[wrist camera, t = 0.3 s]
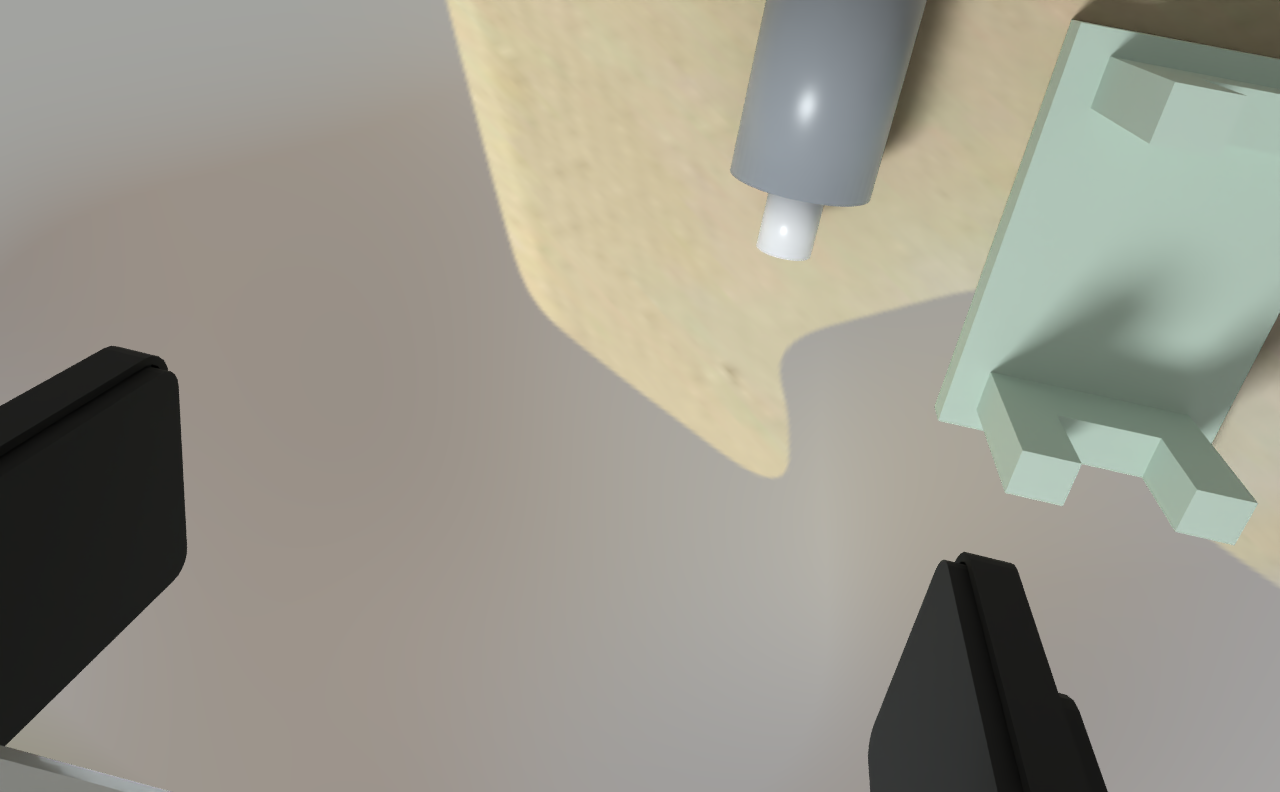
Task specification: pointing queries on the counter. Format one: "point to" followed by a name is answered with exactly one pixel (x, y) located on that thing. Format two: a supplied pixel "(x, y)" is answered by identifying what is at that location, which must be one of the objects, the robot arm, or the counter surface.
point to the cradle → (1130, 276)
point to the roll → (820, 110)
